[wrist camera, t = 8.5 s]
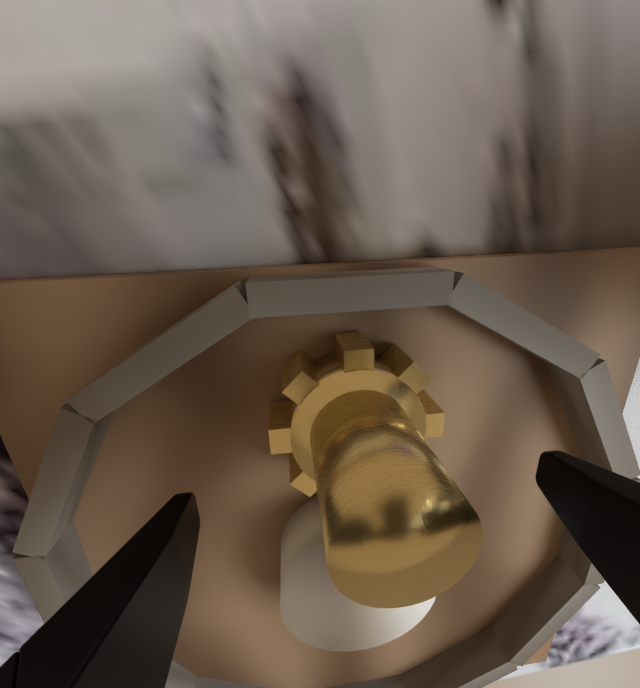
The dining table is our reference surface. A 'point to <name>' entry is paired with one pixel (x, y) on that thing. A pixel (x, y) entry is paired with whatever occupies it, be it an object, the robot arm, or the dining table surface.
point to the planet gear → (375, 473)
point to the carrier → (273, 470)
